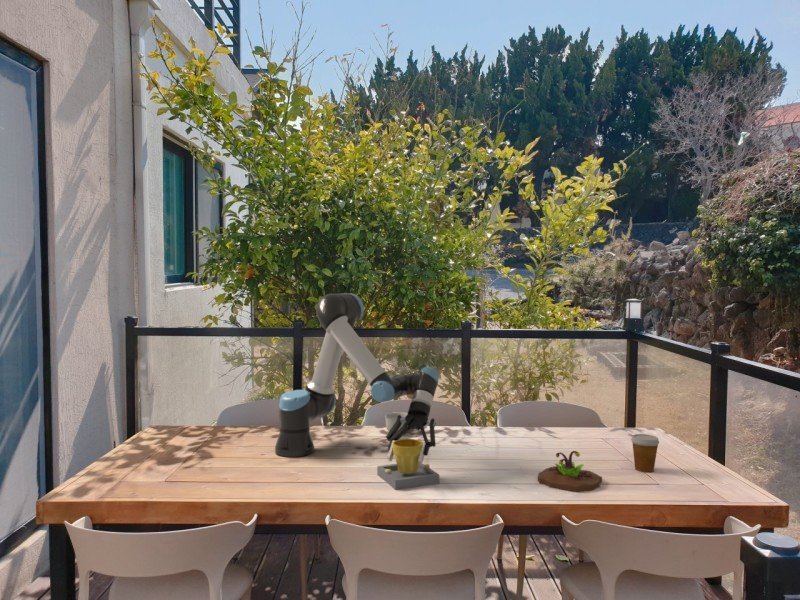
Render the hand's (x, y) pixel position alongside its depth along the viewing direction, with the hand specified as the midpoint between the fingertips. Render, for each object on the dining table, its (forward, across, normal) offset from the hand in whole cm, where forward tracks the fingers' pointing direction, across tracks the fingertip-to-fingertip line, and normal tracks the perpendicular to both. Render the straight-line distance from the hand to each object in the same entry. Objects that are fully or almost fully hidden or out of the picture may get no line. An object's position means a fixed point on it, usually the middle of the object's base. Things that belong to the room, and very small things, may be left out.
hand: (404, 461), depth 206 cm
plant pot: (+1, 0, -5) cm, 5 cm away
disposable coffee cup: (-27, -76, -38) cm, 89 cm away
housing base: (+3, 0, -7) cm, 8 cm away
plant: (-10, -52, -21) cm, 57 cm away
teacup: (-38, +27, -48) cm, 67 cm away
